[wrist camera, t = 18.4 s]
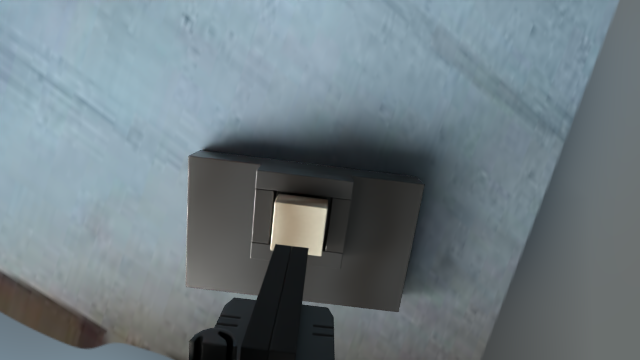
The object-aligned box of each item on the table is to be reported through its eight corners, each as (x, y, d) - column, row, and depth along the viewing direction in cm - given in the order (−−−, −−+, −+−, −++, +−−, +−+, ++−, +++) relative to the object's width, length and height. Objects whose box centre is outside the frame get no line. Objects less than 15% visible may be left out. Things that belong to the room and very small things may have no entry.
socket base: (417, 175, 25) (433, 191, 22) (393, 295, 28) (403, 328, 24) (199, 149, 25) (176, 160, 21) (196, 272, 28) (174, 301, 24)
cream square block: (327, 199, 22) (327, 208, 21) (322, 244, 23) (321, 256, 21) (278, 193, 22) (274, 201, 21) (274, 238, 23) (269, 250, 21)
